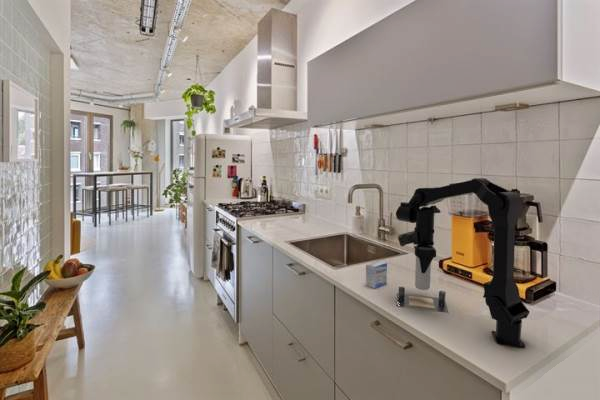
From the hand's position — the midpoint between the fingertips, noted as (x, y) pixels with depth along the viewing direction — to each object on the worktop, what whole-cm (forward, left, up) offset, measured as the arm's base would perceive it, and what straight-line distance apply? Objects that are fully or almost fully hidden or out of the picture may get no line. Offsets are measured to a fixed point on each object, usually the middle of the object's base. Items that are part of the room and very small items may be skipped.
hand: (422, 270), depth 112 cm
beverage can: (0, 0, -6) cm, 6 cm away
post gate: (0, 0, -12) cm, 12 cm away
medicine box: (+12, +16, -12) cm, 23 cm away
